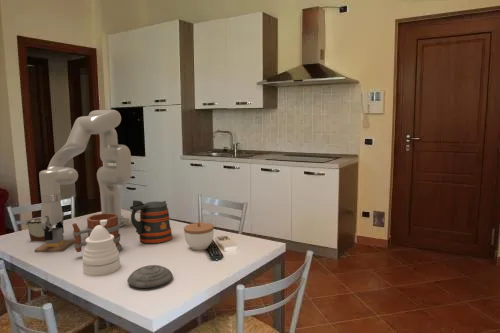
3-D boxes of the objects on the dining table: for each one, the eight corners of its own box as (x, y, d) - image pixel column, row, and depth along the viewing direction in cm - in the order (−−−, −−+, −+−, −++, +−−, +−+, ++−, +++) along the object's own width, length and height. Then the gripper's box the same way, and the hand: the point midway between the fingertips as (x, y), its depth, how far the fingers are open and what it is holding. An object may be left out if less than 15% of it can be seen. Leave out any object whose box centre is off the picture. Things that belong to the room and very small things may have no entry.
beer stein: (145, 249, 163) (142, 203, 160) (124, 243, 172) (121, 199, 169) (178, 237, 178) (176, 195, 175) (158, 232, 187) (155, 192, 184)
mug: (128, 250, 163) (125, 215, 161) (82, 262, 149) (79, 225, 147) (113, 242, 172) (111, 210, 171) (68, 254, 159) (65, 219, 157)
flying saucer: (118, 285, 129) (116, 269, 128) (150, 269, 142) (150, 255, 141) (150, 295, 121) (149, 278, 120) (181, 277, 134) (181, 262, 133)
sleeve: (64, 242, 171) (62, 227, 170) (58, 246, 166) (57, 230, 165) (52, 243, 171) (51, 227, 170) (46, 246, 166) (45, 231, 165)
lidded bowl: (219, 244, 167) (218, 219, 166) (204, 254, 156) (203, 227, 154) (195, 241, 173) (194, 217, 171) (178, 250, 161) (177, 224, 160)
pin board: (75, 242, 175) (74, 227, 174) (62, 251, 163) (61, 235, 162) (48, 242, 174) (47, 228, 174) (34, 252, 163) (32, 236, 162)
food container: (60, 237, 182) (58, 217, 181) (52, 241, 176) (50, 220, 175) (36, 237, 183) (34, 217, 182) (27, 241, 177) (25, 220, 176)
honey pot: (108, 259, 152) (105, 215, 150) (127, 267, 144) (123, 220, 142) (76, 270, 142) (72, 223, 140) (94, 278, 134) (90, 229, 132)
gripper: (52, 194, 174) (55, 230, 176) (31, 203, 157) (35, 243, 159) (69, 194, 174) (72, 230, 177) (49, 202, 157) (53, 242, 159)
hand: (54, 236), depth 168 cm, fingers open, 9 cm apart
